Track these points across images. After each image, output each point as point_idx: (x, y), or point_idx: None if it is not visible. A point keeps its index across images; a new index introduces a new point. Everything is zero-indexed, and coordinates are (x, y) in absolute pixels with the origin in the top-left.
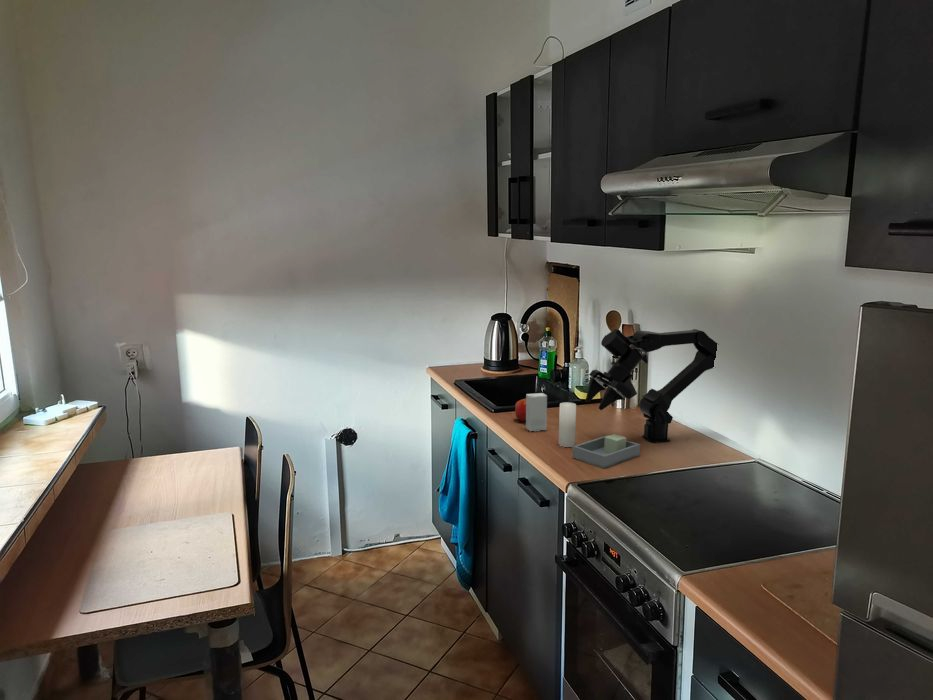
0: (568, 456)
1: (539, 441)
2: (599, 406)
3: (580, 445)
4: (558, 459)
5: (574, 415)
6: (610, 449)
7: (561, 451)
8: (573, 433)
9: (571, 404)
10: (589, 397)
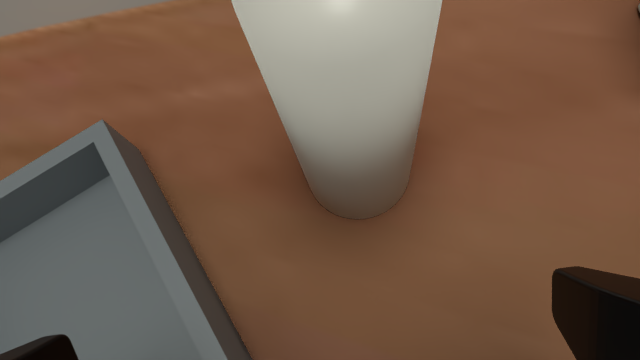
0: (166, 135)
1: (442, 34)
2: (26, 344)
3: (108, 171)
4: (137, 78)
5: (275, 98)
6: None
7: (252, 116)
8: (301, 165)
9: (328, 7)
10: (598, 337)
